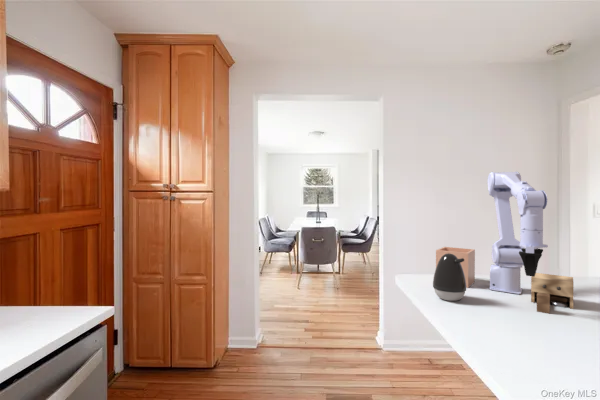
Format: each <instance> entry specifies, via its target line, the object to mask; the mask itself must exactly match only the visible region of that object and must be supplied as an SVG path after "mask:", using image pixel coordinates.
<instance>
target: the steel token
mask: <svg viewBox="0 0 600 400" xmlns="http://www.w3.org/2000/svg"><path fill="white" fill-rule="evenodd" d="M550 305H552V306H555V307H556V308H557V307H558V308H568V302H567V303H566V302H563V301H558V300H552V301H551V302H550Z"/></svg>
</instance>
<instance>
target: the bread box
mask: <svg viewBox="0 0 600 400" xmlns="http://www.w3.org/2000/svg"><path fill="white" fill-rule="evenodd" d="M530 279H531V280H530V281H531V282H530V284H531V285H530V287H531V288H530V291H531V292H530V297H531V298H530V302H531V303H535V301H536V299H537V293H544V294H550V295H554V296H561V297H567V303H569V309H571V310H574V277H573V276H566V275H559V274H558V275H557V274H549V273H540V272H536V274H535V277H533V276H530Z"/></svg>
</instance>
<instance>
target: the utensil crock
mask: <svg viewBox="0 0 600 400" xmlns="http://www.w3.org/2000/svg"><path fill="white" fill-rule="evenodd" d="M448 253H450V254H453V255H455V256H456V257H457V258H458V259H461V258H463V259H464V261H463V262H461V266H462V268H463V271H464V275H465V280H466V289H468V288H470V287H471V286H472V285H473V284H474V283H476V281H475V279H476V277H475V276H476V272H475V271H476V250H475V248H463V247H451V246H443V247H441V248H438V249H436V250H435V268H436V267H437V264H438V262H439V260H440V258H441V257H442V256H443V255H444V254H448Z"/></svg>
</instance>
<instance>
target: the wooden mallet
mask: <svg viewBox="0 0 600 400" xmlns="http://www.w3.org/2000/svg"><path fill="white" fill-rule="evenodd" d="M552 300H558V301H563V302H566V303H567V304H568V302H567V297H561V296H554V295H550V294H544V293H537V297H536V312H537V313H543V314H547V315H549V314H550V311H551V301H552Z"/></svg>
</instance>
